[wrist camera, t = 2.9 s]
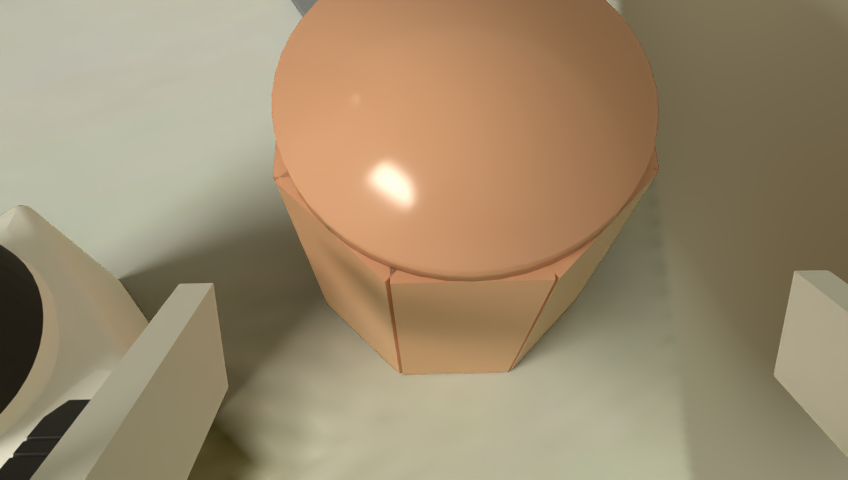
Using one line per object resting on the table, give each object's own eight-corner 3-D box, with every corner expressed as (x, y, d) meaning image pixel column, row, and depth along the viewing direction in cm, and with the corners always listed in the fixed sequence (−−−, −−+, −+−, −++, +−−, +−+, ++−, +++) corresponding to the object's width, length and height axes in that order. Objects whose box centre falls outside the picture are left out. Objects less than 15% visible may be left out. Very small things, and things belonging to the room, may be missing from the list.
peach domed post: (277, 255, 28) (191, 96, 18) (443, 106, 30) (453, -105, 20) (457, 429, 25) (480, 358, 15) (622, 247, 28) (735, 84, 18)
